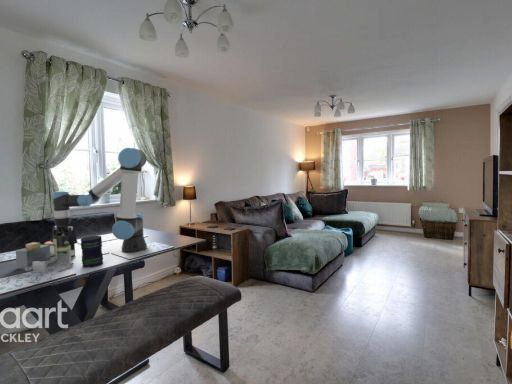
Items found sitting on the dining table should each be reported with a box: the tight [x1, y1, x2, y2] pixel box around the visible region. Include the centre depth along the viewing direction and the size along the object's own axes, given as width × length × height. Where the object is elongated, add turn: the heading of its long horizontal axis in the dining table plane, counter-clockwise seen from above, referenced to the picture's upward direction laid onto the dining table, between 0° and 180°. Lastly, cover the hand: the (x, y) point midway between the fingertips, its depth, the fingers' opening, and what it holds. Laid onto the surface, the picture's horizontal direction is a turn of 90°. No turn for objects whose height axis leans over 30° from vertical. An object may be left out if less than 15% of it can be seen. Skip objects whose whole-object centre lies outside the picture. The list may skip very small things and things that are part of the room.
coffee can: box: [53, 233, 76, 262], centre depth 160 cm, size 10×10×14 cm
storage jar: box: [80, 235, 104, 269], centre depth 148 cm, size 10×10×15 cm
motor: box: [15, 241, 74, 274], centre depth 146 cm, size 14×29×12 cm, turn 74°
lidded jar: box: [43, 240, 54, 256], centre depth 170 cm, size 11×11×9 cm
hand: (65, 254), depth 160 cm, fingers closed on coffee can, 10 cm apart
